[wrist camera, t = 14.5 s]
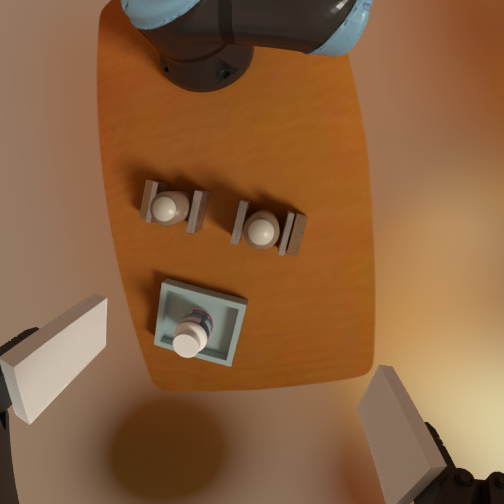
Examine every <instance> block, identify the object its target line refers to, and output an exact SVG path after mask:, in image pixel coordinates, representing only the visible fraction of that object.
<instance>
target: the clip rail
mask: <svg viewBox="0 0 504 504" xmlns="http://www.w3.org/2000/svg"><path fill="white" fill-rule="evenodd" d="M169 184H170V183H167V182H162V181H157V180H146V183H145V188H144V193H143V198H142V204H141V209H140V215H139V218H143V219H146V222H148V223H153V222H155V220H154V219H153V218H152V216H151V212H150V205H151V202H152V200H153V198H154V197H155V196H156V195H157V194H159V193H161V192H166V191H168V188H169ZM209 194H210V192H209V191H205V190H195V193H194V198H193V202H192V207H191V212H190V217H189V222H188V227H187V232H189V233H193V234H194V233H196V232H198V231H199V230H201V229H202V226H203V221H204V217H205V212H206V207H207V203H208V198H209ZM250 203H251V201H248V200H241V201H240V204H239V208H238V213H237V217H236V221H235V225H234V230H233V234H232V239H231V243H233V244H237V245H238V244H239V243H240V241H241V239H242V236H243V229H244V225H245V223H246V219H247V215H248V211H249V207H250ZM294 215H295V216H294ZM307 218H308V216H306V215H304V214H300V213H296V212H295V214H294V213H293V212H292V211H289V210H287V213H286V217H285V221H284V225H283V229H282V233H281V237H280V241H279V245H278V255H282V256H284V253H285V249H286V254H289V255H293V256H297V255H298V252H299V248H300V244H301V240H302V237H303V233H304V229H305V225H306V222H307ZM293 219H294V220H293ZM292 222H293V224H292ZM291 226H292V228H291ZM290 230H291V232H290ZM289 234H290V236H289ZM288 238H289V239H288ZM287 242H288V243H287ZM286 245H287V247H286Z"/></svg>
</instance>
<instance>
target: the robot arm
mask: <svg viewBox="0 0 504 504" xmlns="http://www.w3.org/2000/svg"><path fill="white" fill-rule="evenodd" d="M372 1H373V0H121V6H122V9H123V11H124V12H125V13H126V15H127V16H128V17H129V19H130V22H131V23H132V24H133V26H135V27H136V28H137V29H138V30H139V31H140V32H141V33H142V34H143V35H144V36H145V37H146V38H147V39H148V40H149V41H150V42H151V43H152V44H153V45H154V46H155V47H156V48H157V49H158V50H159V52H160V62H161V66H162V68H163V70H164V72H165V74H166V75H167V76H168V77H169V78H170V79H171V80H172V81H173V82H174V83H175V84H176V85H177V86H179V87H181V88H183V89H185V90H188V91H193V92H210V91H215V90H219V89H222V88H224V87H226V86H228V85H230V84H232V83H233V82H235V81H236V80H238V79H239V78H240V77H241V76H242V75H243V74H244V73H245V71H246V70H247V69H248V67H249V65H250V63H251V61H252V58H253V51H254V48H253V46H259V47H269V48H278V49H286V50H293V51H299V52H303V53H304V54H307V55H310V54H312V55H313V54H319V55H325V56H332V57H337V56H340V55H344V54H346V53H347V52H349V51H350V50H351V49H352V48H353V47H354V45H355V44H356V43H357V41H358V40H359V38H360V36H361V34H362V32H363V30H364V28H365V26H366V23H367V20H368V17H369V9H370V7H371V5H372ZM106 315H107V298H106V297H103V296H101V295H98V294H95V293H94V294H92V295H91V296H89V297H88V298H86V299H84V300H83V301H81V302H80V303H78V304H77V305H75V306H73V307H72V308H70V309H69V310H67V311H66V312H65V313H63V314H61V315H60V316H58V317H57V318H55V319H54V320H52V321H51V322H49V323H48V324H46V325H45V326H43V327H42V328H40V329H39V328H37V327H35V328H31V329H28V330H25V331H23V332H22V333H20V334H19V335H18V336H17V337H14V338H13V339H11V341H8V342H7V343H5V344H4V345H2V346H1V347H0V504H19V500H18V495H17V491H16V485H15V478H14V473H13V464H12V456H11V446H10V432H9V414H8V410H7V409H8V408H9V407H10V406H11V405H12V406H13V409H14V412H15V414H16V416H18V417H19V418H21V419H22V420H24V421H25V422H27V423H28V424H31V423H32V422H33V421H34V420H35V419H36V418H37V416H39V415H40V413H41V412H42V411H43V410H44V409H45V408H46V407H47V406H48V405H49V404H50V403H51V402H52V400H54V398H56V396H57V395H58V394H59V393H60V392H61V391H62V390H63V389H64V388H65V387H66V386H67V385H68V384H69V383H70V382H71V381H72V380H73V379H74V378H75V377H76V376H77V375H78V373H80V372H81V370H83V369H84V368H85V366H87V365H88V363H89V362H90V361H91V360H92V359H93V358H94V357H95V356H96V355H97V354H98V353H99V352H100V351H101V350H102V349H103V348H104V347H105V346H106ZM357 409H358V412H359V415H360V418H361V422H362V424H363V428H364V431H365V434H366V437H367V440H368V444H369V446H370V450H371V453H372V457H373V460H374V463H375V467H376V470H377V474H378V477H379V480H380V484H381V488H382V491H383V495H384V498H385V502H386V504H410V503H411V502H412V501H414V504H504V473H501V472H493V473H492V474H490V475H489V476H488V478H487V479H486V480H478V479H474V477H473V475H472V474H471V473H470V472H469V471H467V470H465V469H462V468H456V467H455V465H454V463H453V461H452V459H451V457H450V455H449V453H448V451H447V450H446V448H445V446H443V442H442V440H441V439H440V437H439V435H438V433H437V432H436V430H435V429H434V428H433V427H432V426H431V425H430V424H429V423H428V422H424V421H423V419H422V417H421V416H420V414H419V412H418V410H417V409H416V407H415V405H414V403H413V401H412V400H411V398H410V396H409V394H408V393H407V391H406V389H405V387H404V386H403V384H402V382H401V380H400V379H399V377H398V375H397V374H396V372H395V370H394V369H393V367H391V366H384V365H379V366H378V368H377V370H376V372H375V375H374V376H373V378H372V380H371V382H370V385H369V386H368V388H367V390H366V392H365V394H364V396H363V398H362V400H361V401H360V403H359V405H358V407H357Z"/></svg>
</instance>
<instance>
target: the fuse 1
mask: <svg viewBox="0 0 504 504" xmlns="http://www.w3.org/2000/svg"><path fill="white" fill-rule="evenodd" d="M193 198H194V196H193V194H191V193H190V192H188V191H166V192H161V193H159V194H157V195H156V196H155V197H154V198H153V200H152V202H151V205H150V212H151V216H152V218H153V219H154V220H155V222H157V223H158V224H160V225H163V226H170V225H173V224H175V223H178V222H181V221H183V220H186V219H189V217H190V212H191V207H192V202H193Z"/></svg>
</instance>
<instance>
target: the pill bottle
mask: <svg viewBox="0 0 504 504" xmlns="http://www.w3.org/2000/svg"><path fill="white" fill-rule="evenodd" d="M213 327H214V321H213V318H212V316H211V315H210V314H209V313H208V312H207V311H206V310H203V309H200V308H194V309H191V310H189V311H188V312H187V313H186V314H185V316H184V317H183V319H182V320H181V321H180V323H179V324H178V326H177V327H176V329H175V332H174V340H173V348H174V350H175V351H176V353H178V354H179V355H180V356H183V357H187V358H189V357H193V356H195V355H196V354H197V353H198V352H199V351H201V350H202V349H203V348H204V347H205V346H206V344H207V341H208V339H209V337H210V334H211V332H212V330H213Z"/></svg>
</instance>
